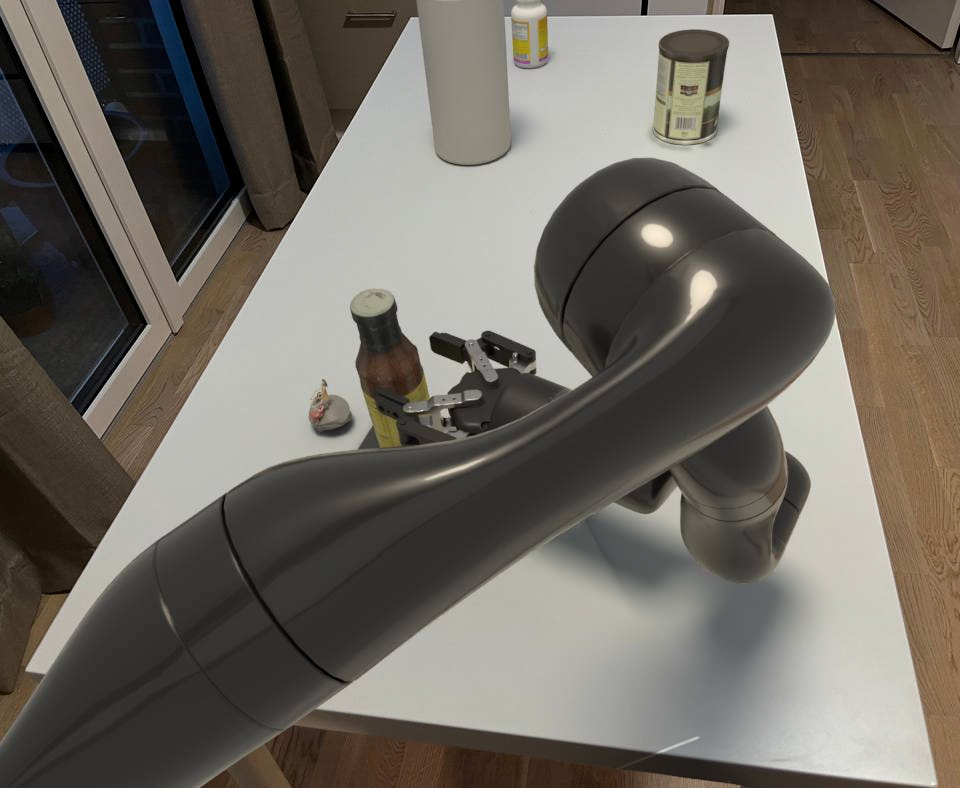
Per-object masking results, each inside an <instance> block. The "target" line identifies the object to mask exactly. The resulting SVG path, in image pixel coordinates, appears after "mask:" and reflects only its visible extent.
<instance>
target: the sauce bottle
mask: <svg viewBox="0 0 960 788" xmlns="http://www.w3.org/2000/svg"><path fill="white" fill-rule="evenodd" d="M349 310H350V314H351V318H352V320H353V322H354V323H355V324H356V327H357V331H358V334H359V341H360V344H359V349H358V352H357V355H356V358H355V361H354V362H355V363H354V364H355V369H356V372H357V375H358V378H359V383H360V389H361V391H362V394H363V398H364V402H365V405H366V408H367V411H368V414H369V418H370V420H371V421H370V422H371V424H372V426H373V427H374V430H375V434H376V437H377V440H378V443H379V446H380V448H384V447H397V446H402V445H401V444H400V440H399V433H398V429H397V426H396V422H397V420H395V419H392V418H390V417H389V416H386V415H384V414H382V413H380V412H379V411H378V410H377V408H376V404H375V401H374V396H373V391H374V390H375V389H376V388H377V387H378V386H381V387H383V388H385V389H387V390H390V391H392V392H394V393H396V394H399V395H401V396H403V397H406V398H408V399H409V401H410V402H418V401H428V400H429V399H430V398H431V396H430V392H429V388H428V384H427V379H426V374H425V370H424V367H423V365H422V363H421V358H420V354H419V351H418V350H419V349H418V347H417V346H416V345H415V344H414V343H413V342H412V341H411V340H410V339H409V338H408V337H407V336H406V335H405V334H404V333H403V332H402V328H401V326H400V323H399V319H398V314H397V312H398V310H399V309H398V304H397V302H396V297H395V295H394V294H393V293H392V292H391V291H390V290H387V289H385V288H367V289H365V290H363V291H360V292H359V293H357V294H356V295H355V296H354V297H353V298H352V299H351V301H350V304H349ZM425 416H431V415H430V414H423V415H419V417H425Z"/></svg>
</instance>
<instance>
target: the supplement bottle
mask: <svg viewBox="0 0 960 788" xmlns="http://www.w3.org/2000/svg"><path fill="white" fill-rule="evenodd" d="M515 2H516V4H515V5H514V6H513V7H512V8H511V11H510V20H511V37H512V39H511V40H512V56H513V57H512V58H513V63H514V64H515V65H516V66H517V67H519V68H522V69H535V68H539V67H542V66H544V65H545V64H546V63H547V62H548V61H549V38H548V37H549V36H548V33H549V32H548V8H547V7H546V5H545V4H543V2H541V0H515Z"/></svg>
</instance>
